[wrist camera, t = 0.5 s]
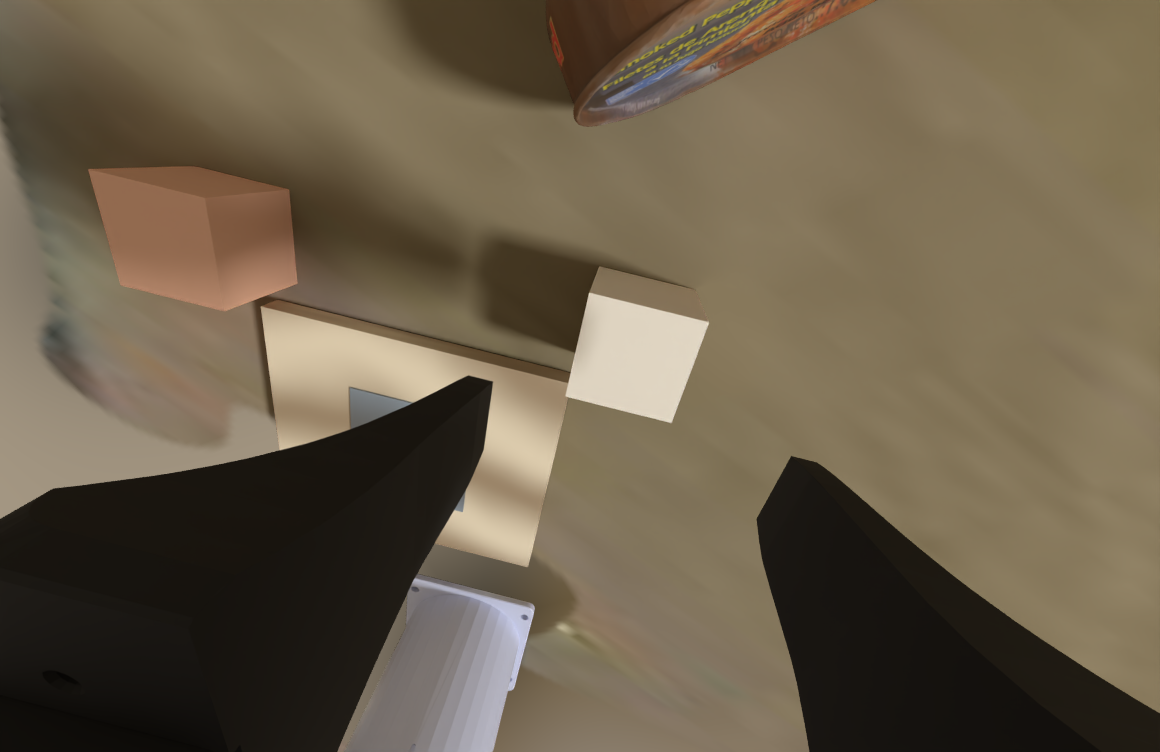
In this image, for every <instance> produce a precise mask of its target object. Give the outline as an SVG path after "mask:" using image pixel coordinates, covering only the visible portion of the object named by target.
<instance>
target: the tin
mask: <svg viewBox="0 0 1160 752" xmlns="http://www.w3.org/2000/svg"><path fill="white" fill-rule="evenodd" d="M874 1H876V0H546V21H547V30H548V35H549V39H550V42H551V45H552V48H553V51H554V54H555V56H556V59H557V61H558V64H559V66H560V69H561V72H562V74H563V77H564V79H565V82H566V84H567V87H568V89H569V92H570V95H571V98H572V101H573V103H574V119H575V121H576V122H577V123H578V124H579V125H582V126H587V127H589V126H598V125H603V124H608V123H613V122H617V121H620V120H624V119H628V118H631V117H635V116H638V115H641V114H643V113H646V112H649V111H651V110H654V109H656V108H658V107H661V106H663V105H665V104H668V103H670V102H672V101H674V100H677V99H679V98H681V97H683V96H684V95H686V94H688V93H691V92H694V91H696V90H698V89H700V88H702V87H704V86H706V85H708V84H710V83H712V82H714V81H716V80H718V79H720V78H722V77H724V76H726V75H728V74H730V73H732V72H734V71H736V70H738V69H741V68H742V67H744V66H746V65H748V64H750V63H753V62H754V61H756V60H758V59H760V58H762V57H764V56H766V55H768V54H770V53H772V52H774V51H776V50H778V49H780V48H782V47H784V46H786V45H788V44H790V43H792V42H794V41H796V40H798V39H800V38H802V37H804V36H806V35H808V34H810V33H812V32H814V31H816V30H818V29H820V28H822V27H824V26H826V25H828V24H830V23H832V22H834V21H836V20H838V19H840V18H842V17H844V16H846V15H848V14H850V13H852V12H854V11H856V10H858V9H860V8H862V7H864V6H866V5H868V4H870V3H872V2H874Z"/></svg>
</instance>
